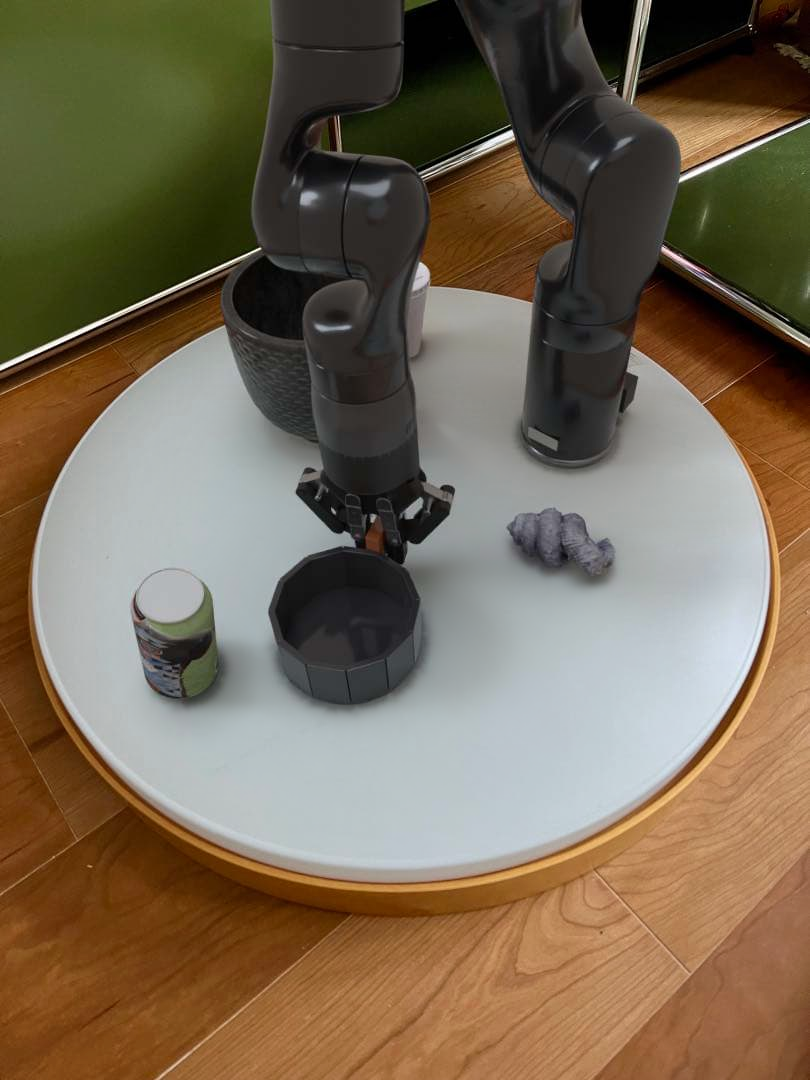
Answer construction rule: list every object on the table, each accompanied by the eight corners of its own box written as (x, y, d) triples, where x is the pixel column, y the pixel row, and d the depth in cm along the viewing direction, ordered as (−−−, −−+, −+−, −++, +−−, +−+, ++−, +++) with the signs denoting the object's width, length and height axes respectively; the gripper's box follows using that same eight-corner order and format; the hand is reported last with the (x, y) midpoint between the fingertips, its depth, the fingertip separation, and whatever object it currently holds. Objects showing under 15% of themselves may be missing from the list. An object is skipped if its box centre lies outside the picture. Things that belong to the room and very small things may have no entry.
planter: (299, 346, 102) (278, 219, 89) (438, 385, 97) (436, 256, 84) (218, 446, 92) (182, 319, 80) (368, 495, 87) (354, 368, 75)
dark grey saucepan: (311, 545, 83) (302, 495, 78) (438, 562, 82) (438, 512, 76) (262, 691, 74) (247, 646, 68) (404, 715, 72) (401, 670, 67)
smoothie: (426, 369, 98) (423, 258, 87) (369, 363, 99) (359, 253, 88) (436, 333, 102) (435, 222, 91) (381, 327, 103) (373, 217, 92)
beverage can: (152, 645, 77) (111, 561, 68) (237, 638, 77) (208, 552, 68) (145, 711, 73) (101, 630, 64) (235, 702, 73) (204, 621, 64)
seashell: (612, 573, 82) (506, 550, 84) (624, 516, 80) (516, 495, 83) (608, 588, 77) (494, 563, 79) (620, 528, 75) (505, 504, 78)
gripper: (466, 393, 67) (466, 537, 81) (292, 374, 69) (320, 517, 83) (448, 465, 63) (451, 605, 76) (262, 442, 65) (297, 582, 79)
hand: (382, 559), depth 80 cm, fingers closed on dark grey saucepan
